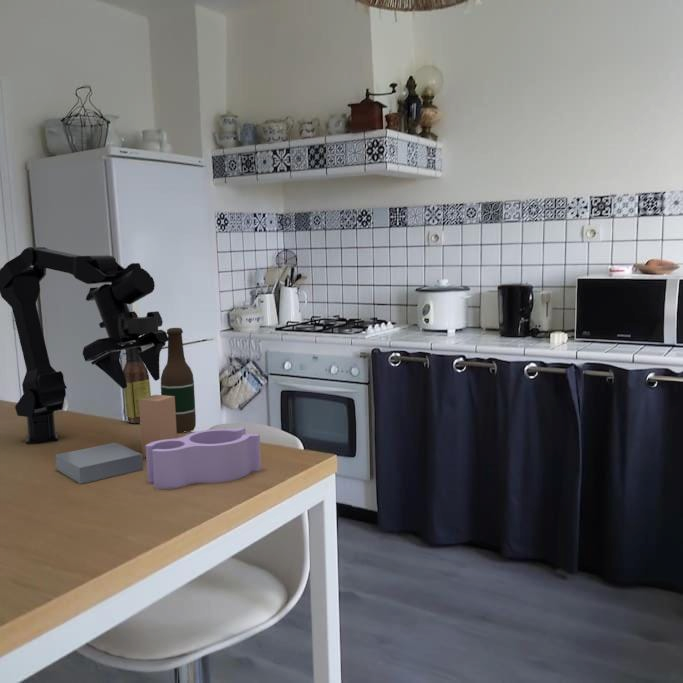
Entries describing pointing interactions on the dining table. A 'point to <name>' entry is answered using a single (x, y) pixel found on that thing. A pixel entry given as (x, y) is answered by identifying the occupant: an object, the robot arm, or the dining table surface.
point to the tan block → (157, 419)
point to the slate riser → (98, 462)
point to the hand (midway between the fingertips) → (141, 383)
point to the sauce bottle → (135, 383)
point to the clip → (203, 458)
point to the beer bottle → (179, 382)
